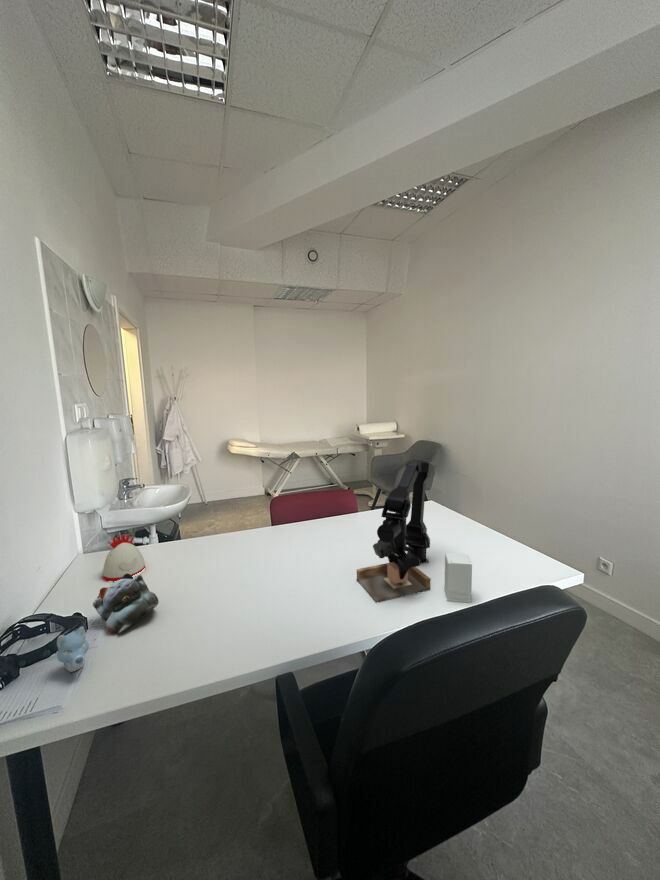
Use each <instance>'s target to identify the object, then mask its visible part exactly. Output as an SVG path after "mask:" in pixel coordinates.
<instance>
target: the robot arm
mask: <svg viewBox="0 0 660 880" xmlns="http://www.w3.org/2000/svg"><path fill="white" fill-rule="evenodd" d="M433 470H434V465H433V463H431V461H430V460H428V459H426V460H425V459H413V460H408V461H406V462H405V468H404V471H403V473H402V475H401V478H400V480H399V482H398V484H397V486H396V487H395V489H392V490H391V491H390V492H389V494H388V495H387V496H386V498H385V501H384V505H383V509H382V512H381V517H382V518H385V519H384V520H382V524H381V525H379V526H378V528H377V531H376V533H377V537H378V540H377V542H376V543H374V544H373V545H372V548H373V550H374V551H373V552H374V554H375V555H376V556H378V558H379V559H384V558H385V557H386V558H387V559H388V563H391V562H395V563H396V564H397V565H398V567H399V576H400V579H404V577H405V575H406V573H407V571H408V570H409V568H411V567H416V568H417V567H419V566H421V564H425V563H426V564H427V563H429V559H427V549H430V547H431V539H430V536H429V534H428V531H427V529H428V528H427V526H426V523H425V522H424V514H425V513H424V512H425V511H424V510H425V501H426V500H425V497H426V489H427V488H426V485H427V482H428V481H429V480H430V479H431V476H432V472H433ZM411 491H412V498H410V495H411ZM410 499H411V500H410ZM409 513H410V519H409V522H408V523H407V518H408V517H409Z"/></svg>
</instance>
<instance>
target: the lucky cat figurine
mask: <svg viewBox="0 0 660 880" xmlns="http://www.w3.org/2000/svg"><path fill="white" fill-rule="evenodd" d="M159 602H160V601H159V597H158V596H157V595H156V593H154V592H152V591H150V590H149V587H148V585H147V583H146V582H145V580H144V578H143V575H142V574H140V575H137V576H135V577H134V578H133V577H132V576H131V575H130V574H125V575H124V576H123V577H122V578H121V579H120V580H117V581H116V582H112V584H110V585H109V586H108V587H102V588H100V589H99V593H98V596H97V597H96V598H95V600H94V601H93V602H92V606H93V608H94V609H95V611H96V612H97V614H99V617H101V619H102V620H103V621H104V623H105V625H106V628H107V629H106V630H107V631H108V632H109V633H111V634H115V635H119V634H120V633H122V632H123V631H126V629H128V628H129V627H130V626H132V625H133V624H134V623H136V622H138V620H140V619H142V618H143V617H145V616H147V614H149V613H150V612H151V611H153V609H155V608H156V607H157V606H158V604H159Z"/></svg>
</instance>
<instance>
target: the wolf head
mask: <svg viewBox="0 0 660 880" xmlns="http://www.w3.org/2000/svg"><path fill="white" fill-rule="evenodd" d="M56 646H57V652H56V653H57V655H56V656H57V660H58V662H60V663H63V665H64V668H65V669H66V670H67V671H68V672H72V673H73V671H74V672H77V671H78V670H80V669H81V668H82V667H83V665H84V662H85V661H86V653H87V652H88V650H89V649H90V647H89V646H90V645H89V642H88V641H87V639H86V630H85V627H84V626H82V625H81V626H79V627H78V628H77V629H76V630H75V631H72V632H70V633H68V634H66V635H65V634H61V635H58V637H57V639H56ZM76 670H77V671H76Z"/></svg>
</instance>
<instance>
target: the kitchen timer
mask: <svg viewBox="0 0 660 880" xmlns="http://www.w3.org/2000/svg"><path fill="white" fill-rule="evenodd" d="M121 536H122V537H121ZM121 536H120V535H119V534H118V536H117V540H116V539H115V537H114V536H113V537H112V543H111V542H110V541H108V544H109V546H111V549H110V550H109V552H108V554H107V555H106V557H105V560H104V562H103V563H104V564H103V569H102V579H103V580H104V581H105V580H106V581H105V582H108V581H117V580H120V579H121V578H122V577H123V576H124V575H125V574H130V575H131V576H133V575H135V574H137V573H139V572H141V571H142V570H143V569H144V568H145V569H146V562H145V560H144V557H143V554H142V553H141V551H140V549H138V548H137V546H136V545H134V544H132V543H133V542H134V537H131V539H130V535H126V536H125V533H124V534H123V533H122V535H121ZM129 539H130V540H129Z"/></svg>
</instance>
